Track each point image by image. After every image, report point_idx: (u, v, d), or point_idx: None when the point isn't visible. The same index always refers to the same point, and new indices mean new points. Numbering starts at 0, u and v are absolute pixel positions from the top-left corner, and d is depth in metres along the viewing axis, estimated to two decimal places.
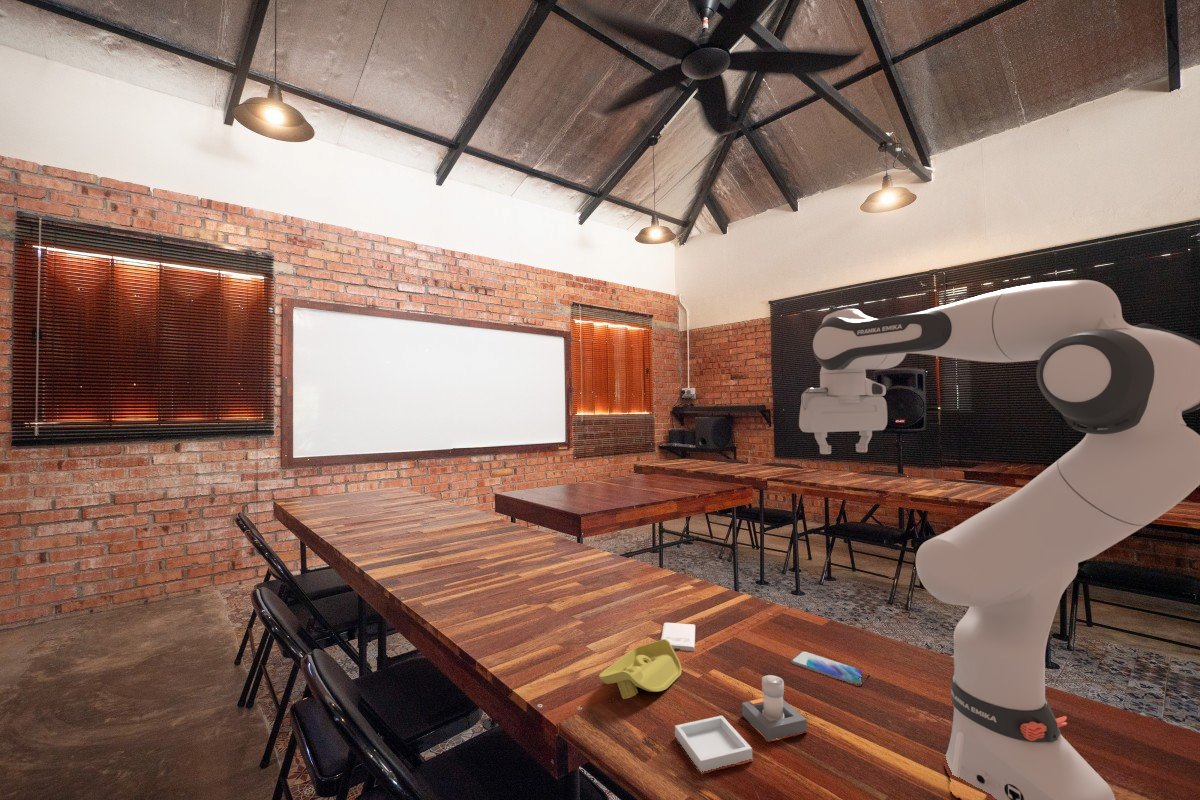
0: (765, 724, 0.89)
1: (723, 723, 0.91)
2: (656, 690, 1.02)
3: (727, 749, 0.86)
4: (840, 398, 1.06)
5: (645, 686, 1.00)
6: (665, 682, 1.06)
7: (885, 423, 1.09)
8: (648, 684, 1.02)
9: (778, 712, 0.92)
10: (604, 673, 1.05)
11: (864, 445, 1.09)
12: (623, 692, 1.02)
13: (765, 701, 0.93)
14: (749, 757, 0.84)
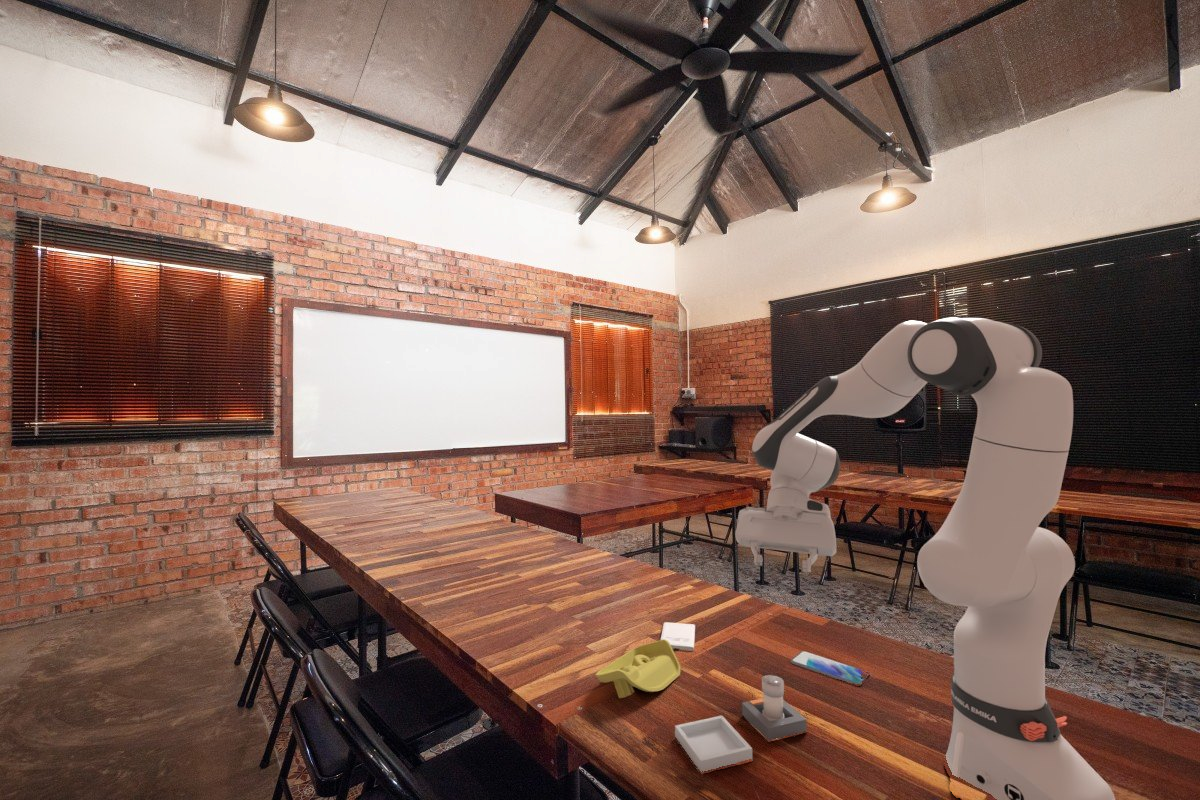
0: (765, 724, 0.89)
1: (723, 723, 0.91)
2: (652, 690, 1.02)
3: (727, 749, 0.86)
4: (773, 513, 1.12)
5: (641, 686, 1.00)
6: (662, 682, 1.06)
7: (831, 541, 1.03)
8: (644, 684, 1.02)
9: (778, 712, 0.92)
10: (601, 672, 1.06)
11: (806, 561, 1.03)
12: (619, 691, 1.02)
13: (765, 701, 0.93)
14: (749, 757, 0.84)
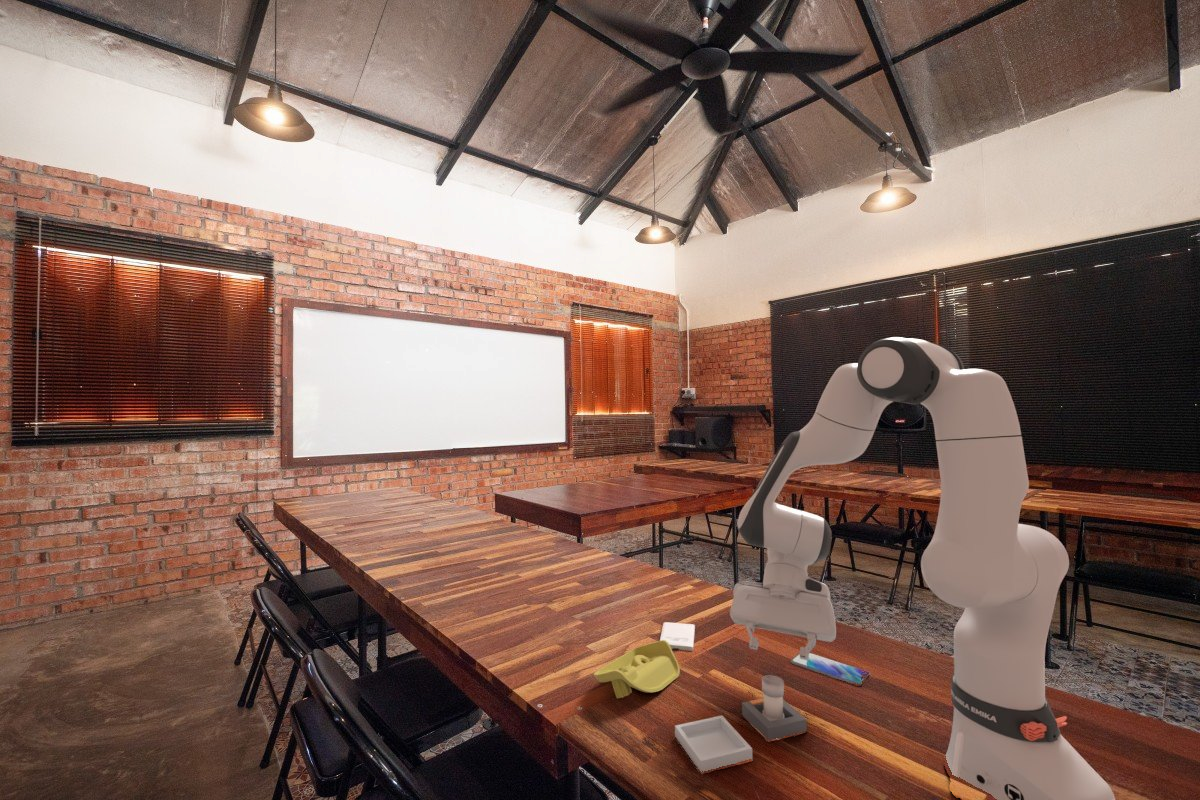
0: (765, 724, 0.89)
1: (723, 723, 0.91)
2: (650, 691, 1.01)
3: (727, 749, 0.86)
4: (770, 590, 1.07)
5: (638, 686, 1.00)
6: (661, 683, 1.06)
7: (831, 627, 0.98)
8: (642, 684, 1.02)
9: (778, 712, 0.92)
10: (599, 672, 1.06)
11: (803, 648, 0.98)
12: (617, 691, 1.02)
13: (765, 701, 0.93)
14: (749, 757, 0.84)
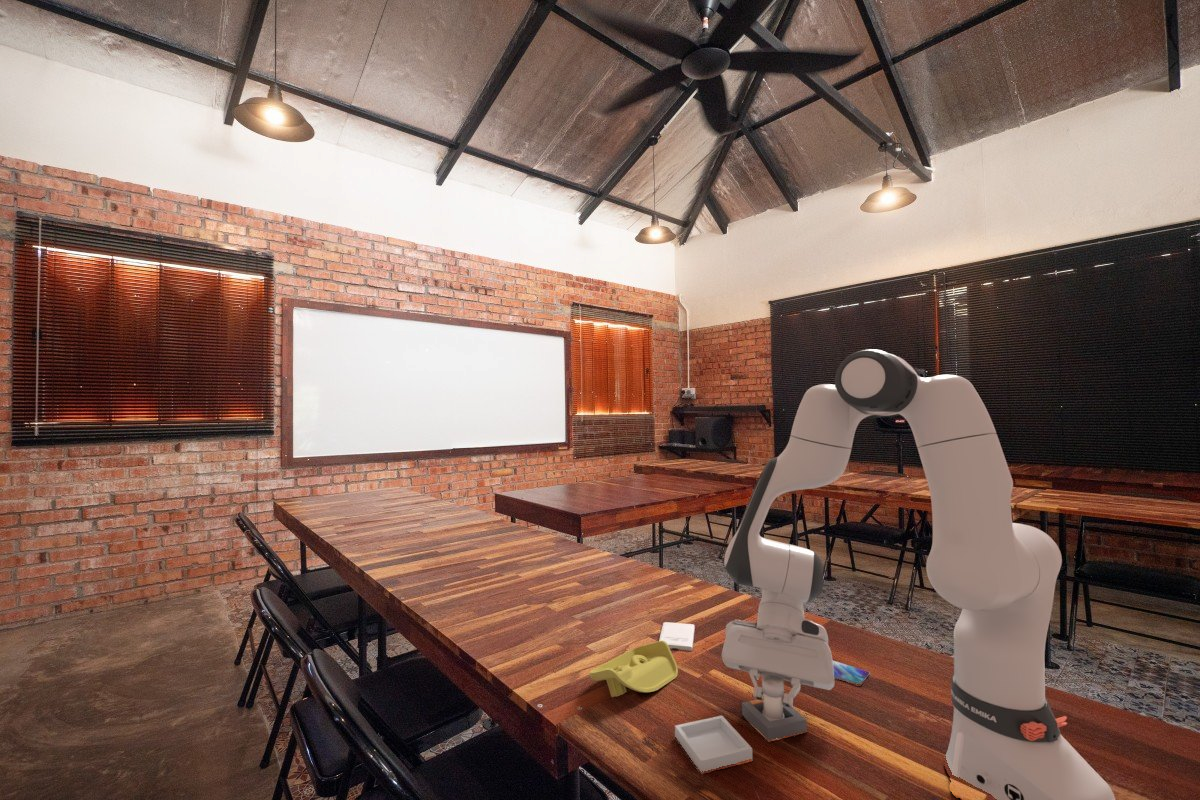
0: (765, 724, 0.89)
1: (723, 723, 0.91)
2: (644, 691, 1.02)
3: (727, 749, 0.86)
4: (764, 631, 1.00)
5: (632, 686, 1.00)
6: (657, 684, 1.06)
7: (829, 675, 0.91)
8: (637, 684, 1.02)
9: (778, 712, 0.92)
10: (595, 670, 1.06)
11: (787, 695, 0.92)
12: (611, 690, 1.02)
13: (765, 701, 0.93)
14: (749, 757, 0.84)
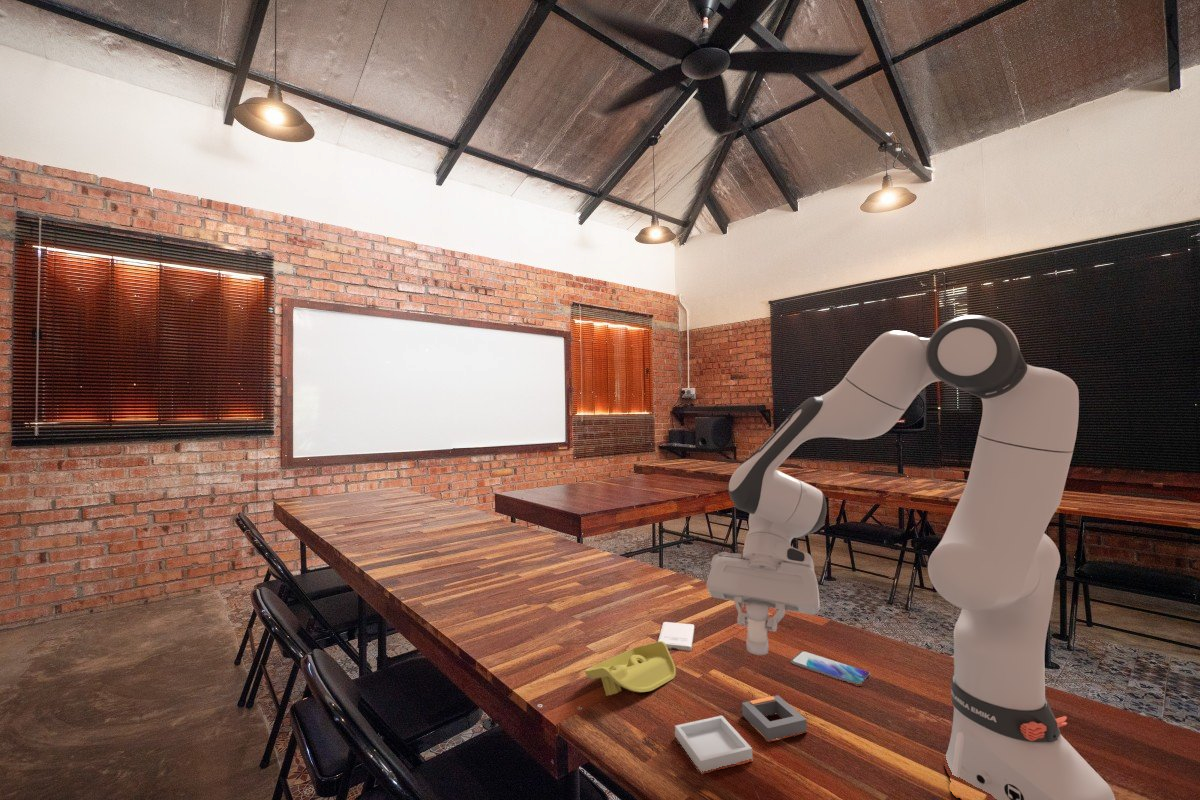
0: (765, 724, 0.89)
1: (723, 723, 0.91)
2: (638, 690, 1.02)
3: (727, 749, 0.86)
4: (749, 561, 0.99)
5: (625, 685, 1.00)
6: (652, 684, 1.05)
7: (813, 598, 0.90)
8: (631, 683, 1.02)
9: (762, 636, 0.91)
10: (592, 668, 1.07)
11: (771, 619, 0.91)
12: (606, 689, 1.03)
13: (749, 625, 0.92)
14: (749, 757, 0.84)
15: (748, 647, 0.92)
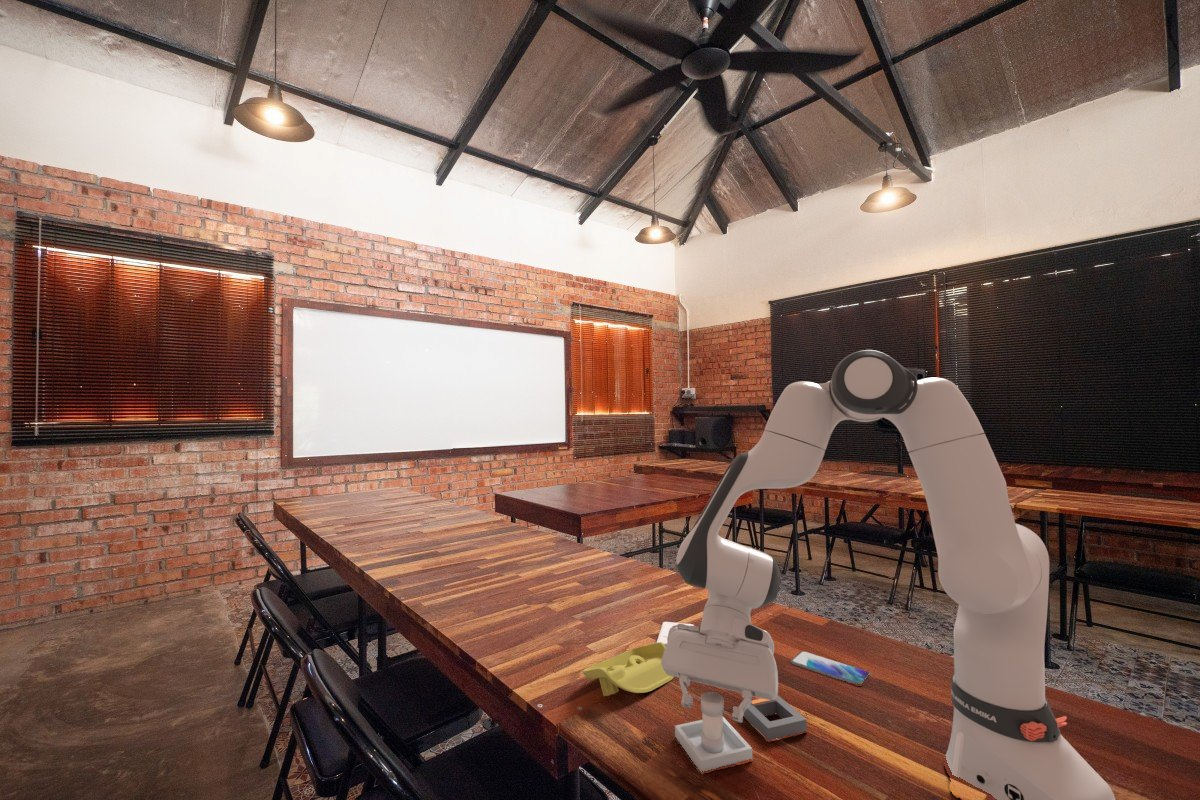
0: (765, 724, 0.89)
1: (723, 723, 0.91)
2: (636, 691, 1.01)
3: (727, 749, 0.86)
4: (706, 637, 0.93)
5: (623, 686, 1.00)
6: (650, 685, 1.05)
7: (770, 684, 0.85)
8: (628, 684, 1.02)
9: (717, 732, 0.85)
10: (590, 668, 1.07)
11: (737, 708, 0.85)
12: (603, 689, 1.03)
13: (703, 720, 0.86)
14: (749, 757, 0.84)
15: (702, 743, 0.86)
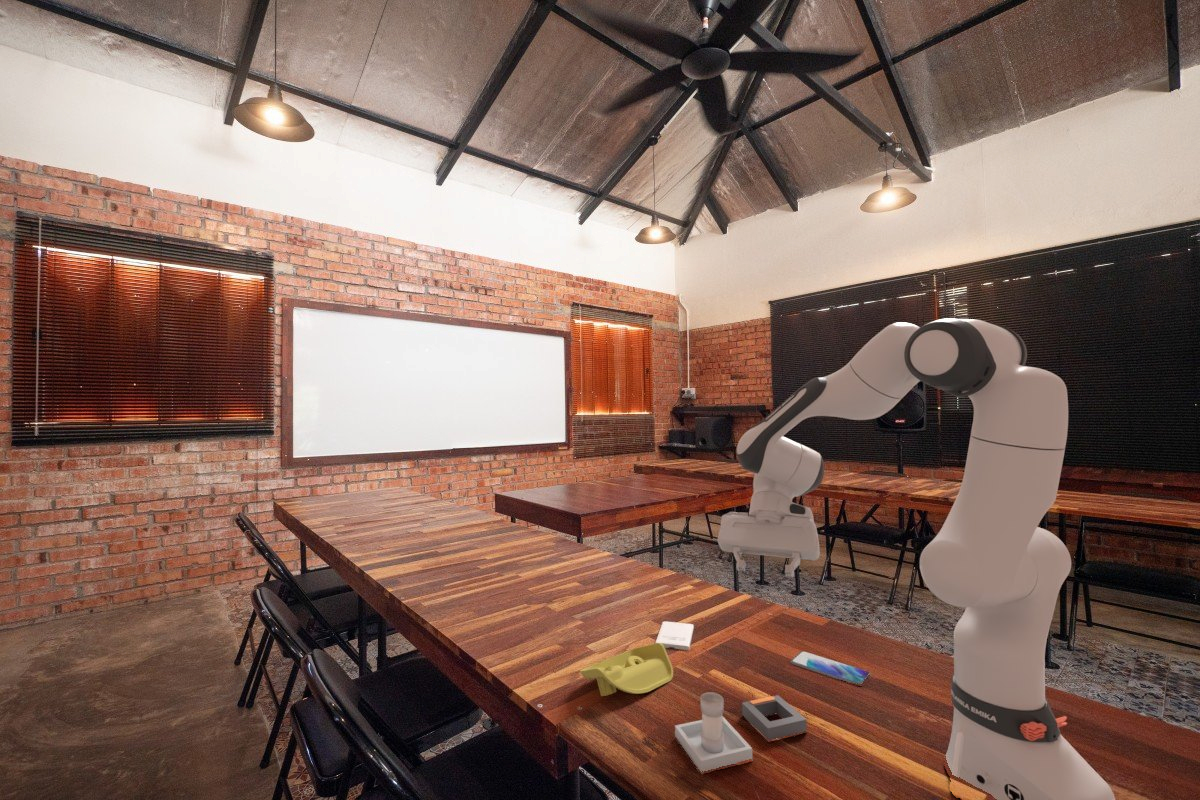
0: (765, 724, 0.89)
1: (723, 723, 0.91)
2: (633, 692, 1.01)
3: (727, 749, 0.86)
4: (756, 517, 1.10)
5: (620, 686, 1.00)
6: (648, 685, 1.05)
7: (814, 545, 1.01)
8: (626, 684, 1.02)
9: (716, 733, 0.85)
10: (588, 668, 1.07)
11: (788, 566, 1.01)
12: (601, 689, 1.03)
13: (703, 721, 0.86)
14: (749, 757, 0.84)
15: (702, 744, 0.86)
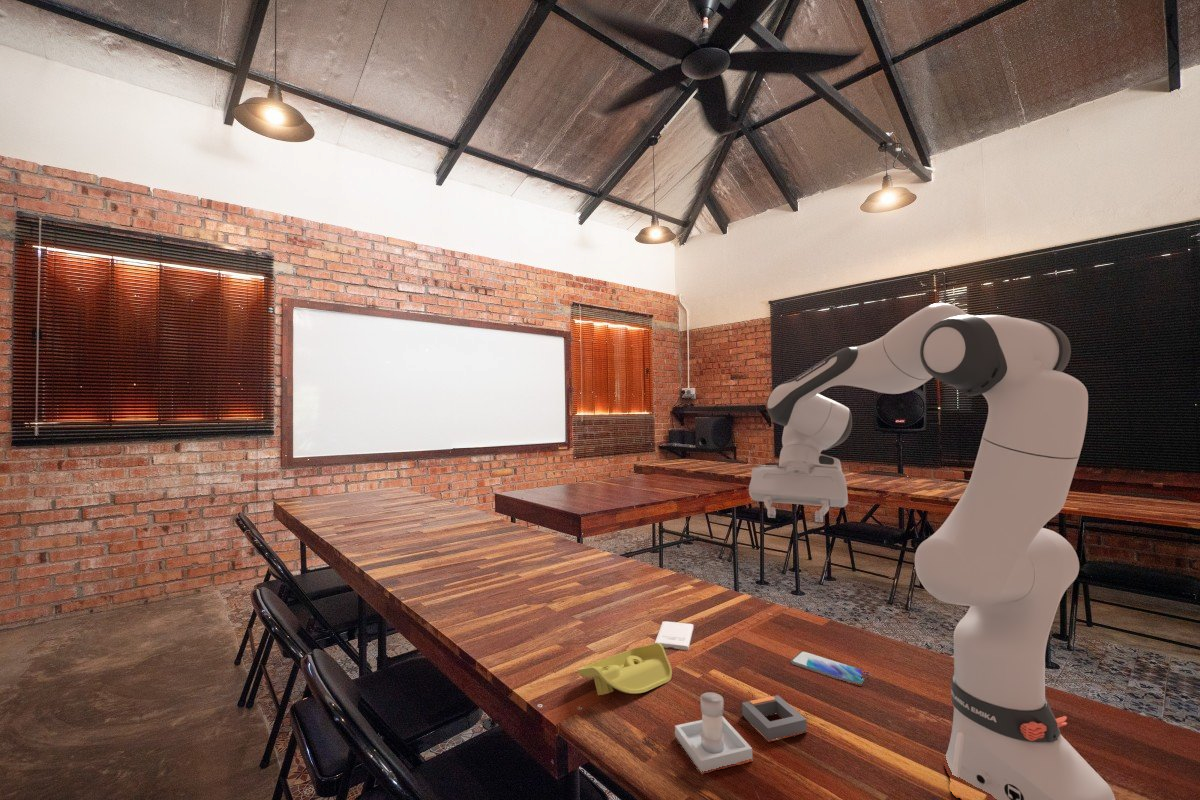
0: (765, 724, 0.89)
1: (723, 723, 0.91)
2: (630, 692, 1.01)
3: (727, 749, 0.86)
4: (786, 468, 1.15)
5: (616, 685, 1.00)
6: (646, 686, 1.05)
7: (843, 492, 1.06)
8: (622, 684, 1.02)
9: (716, 733, 0.85)
10: (586, 667, 1.08)
11: (818, 511, 1.06)
12: (598, 688, 1.03)
13: (703, 721, 0.86)
14: (749, 757, 0.84)
15: (702, 744, 0.86)
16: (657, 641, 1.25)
